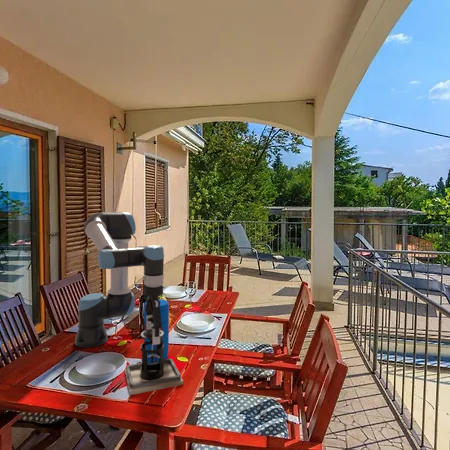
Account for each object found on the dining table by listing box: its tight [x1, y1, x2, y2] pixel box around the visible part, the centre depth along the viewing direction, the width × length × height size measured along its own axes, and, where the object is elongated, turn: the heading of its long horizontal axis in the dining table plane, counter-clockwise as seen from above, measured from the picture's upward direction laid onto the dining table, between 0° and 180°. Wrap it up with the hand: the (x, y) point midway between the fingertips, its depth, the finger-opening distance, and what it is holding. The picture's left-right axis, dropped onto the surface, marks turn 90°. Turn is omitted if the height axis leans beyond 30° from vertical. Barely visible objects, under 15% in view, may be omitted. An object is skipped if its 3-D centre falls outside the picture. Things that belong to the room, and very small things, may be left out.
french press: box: [140, 317, 164, 381], centre depth 133 cm, size 12×9×23 cm
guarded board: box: [124, 357, 184, 396], centre depth 134 cm, size 18×20×3 cm
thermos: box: [143, 298, 170, 359], centre depth 152 cm, size 11×11×25 cm
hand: (152, 337), depth 133 cm, fingers open, 13 cm apart
